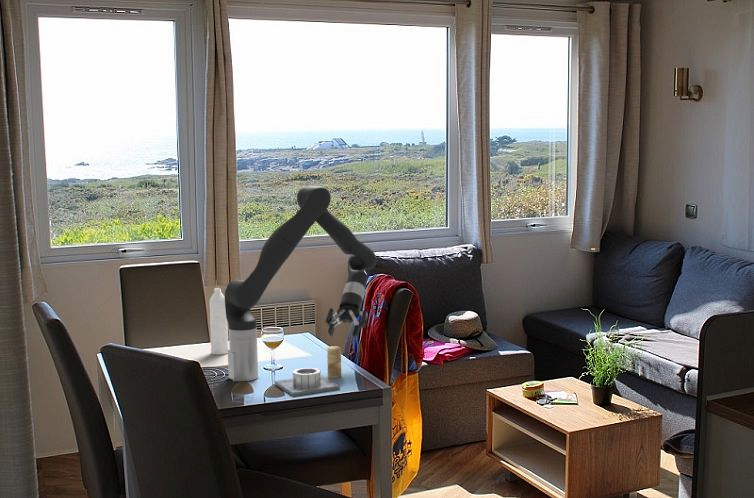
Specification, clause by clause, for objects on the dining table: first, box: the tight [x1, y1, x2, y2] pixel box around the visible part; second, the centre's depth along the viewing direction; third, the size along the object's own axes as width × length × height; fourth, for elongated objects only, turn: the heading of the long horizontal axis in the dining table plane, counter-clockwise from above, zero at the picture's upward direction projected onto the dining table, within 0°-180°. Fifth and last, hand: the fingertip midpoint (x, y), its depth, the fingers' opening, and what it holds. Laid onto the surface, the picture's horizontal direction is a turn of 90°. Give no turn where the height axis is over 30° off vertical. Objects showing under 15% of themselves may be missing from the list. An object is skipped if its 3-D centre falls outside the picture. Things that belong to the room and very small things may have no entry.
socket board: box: [274, 367, 341, 397], centre depth 280 cm, size 16×16×5 cm
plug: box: [326, 345, 342, 380], centre depth 292 cm, size 5×5×10 cm
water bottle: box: [208, 287, 230, 356], centre depth 329 cm, size 9×6×25 cm
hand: (342, 335), depth 299 cm, fingers open, 8 cm apart
